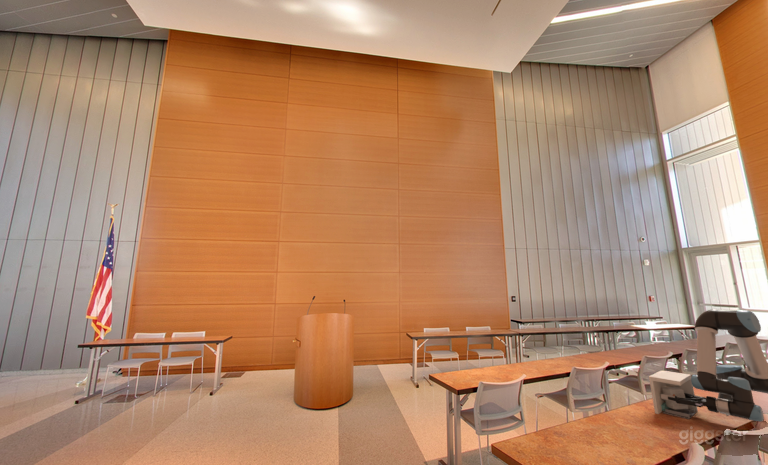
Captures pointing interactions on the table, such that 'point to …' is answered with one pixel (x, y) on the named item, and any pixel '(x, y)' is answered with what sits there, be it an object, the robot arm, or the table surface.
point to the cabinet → (671, 380)
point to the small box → (674, 392)
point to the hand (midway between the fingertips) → (663, 394)
